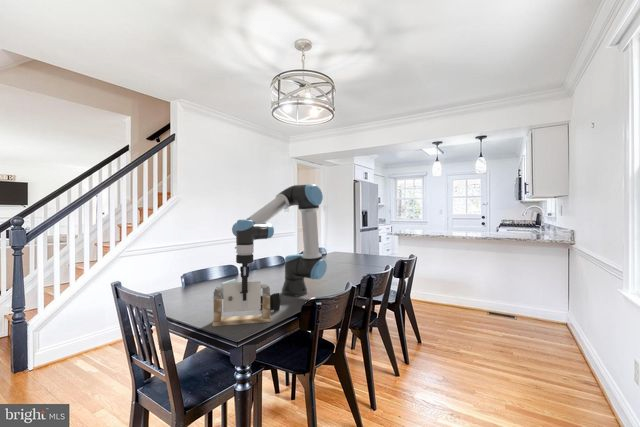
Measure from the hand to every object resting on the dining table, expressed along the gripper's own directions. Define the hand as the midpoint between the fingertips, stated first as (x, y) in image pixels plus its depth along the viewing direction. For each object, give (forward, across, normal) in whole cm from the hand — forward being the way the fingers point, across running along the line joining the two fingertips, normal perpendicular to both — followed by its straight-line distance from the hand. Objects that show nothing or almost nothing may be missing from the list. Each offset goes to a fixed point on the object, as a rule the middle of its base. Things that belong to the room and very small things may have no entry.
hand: (244, 305), depth 138 cm
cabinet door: (+2, 0, -1) cm, 2 cm away
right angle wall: (+8, -48, -5) cm, 49 cm away
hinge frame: (+7, 0, -1) cm, 7 cm away
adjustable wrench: (+7, -22, +10) cm, 25 cm away
